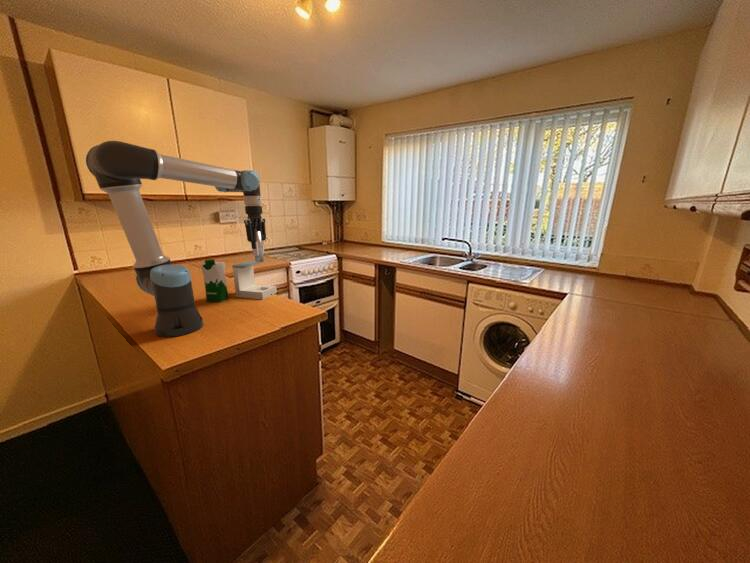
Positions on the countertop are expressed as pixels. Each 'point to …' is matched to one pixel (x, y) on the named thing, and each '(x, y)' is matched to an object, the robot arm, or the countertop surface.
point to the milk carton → (214, 280)
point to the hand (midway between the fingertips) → (258, 254)
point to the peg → (259, 248)
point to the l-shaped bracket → (249, 282)
